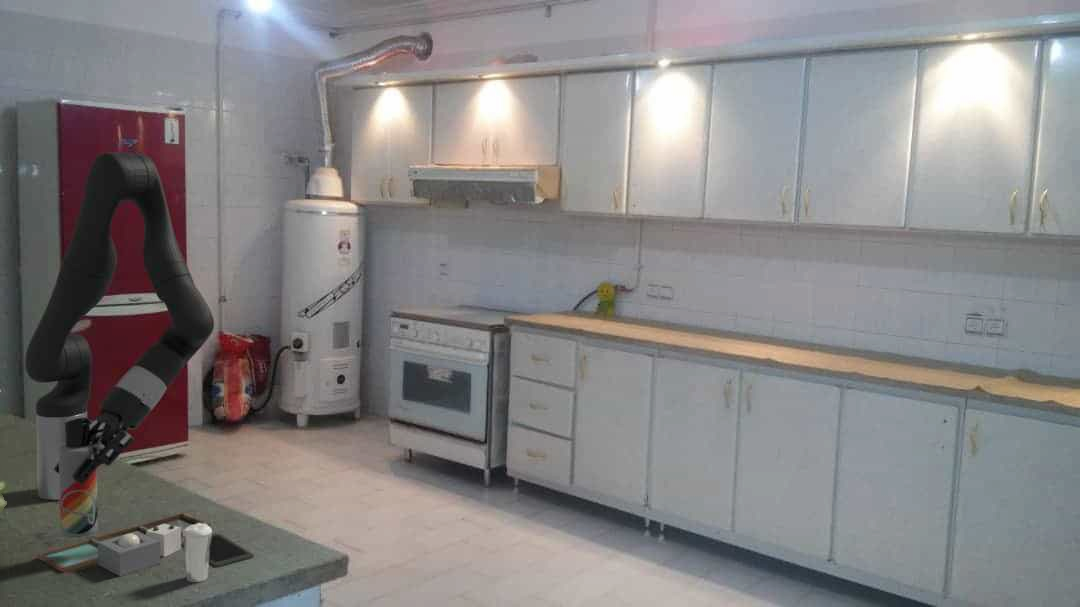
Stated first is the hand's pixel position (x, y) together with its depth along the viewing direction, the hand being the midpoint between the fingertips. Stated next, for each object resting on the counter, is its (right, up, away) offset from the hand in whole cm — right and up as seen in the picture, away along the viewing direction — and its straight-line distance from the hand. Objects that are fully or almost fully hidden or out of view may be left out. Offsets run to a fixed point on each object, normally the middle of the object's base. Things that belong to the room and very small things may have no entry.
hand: (68, 476), depth 149 cm
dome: (+10, -15, +1) cm, 18 cm away
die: (+13, -15, +7) cm, 21 cm away
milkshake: (+23, -16, -3) cm, 28 cm away
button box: (+10, -15, +1) cm, 18 cm away
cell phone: (+22, -16, +9) cm, 28 cm away
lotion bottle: (+1, -10, +3) cm, 11 cm away
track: (+5, -14, +10) cm, 18 cm away
